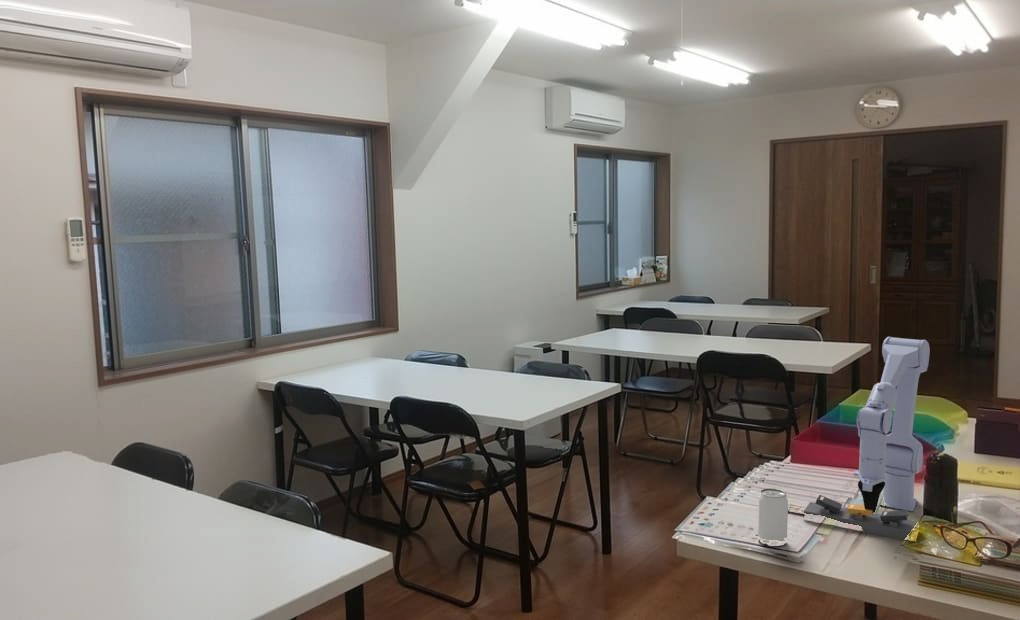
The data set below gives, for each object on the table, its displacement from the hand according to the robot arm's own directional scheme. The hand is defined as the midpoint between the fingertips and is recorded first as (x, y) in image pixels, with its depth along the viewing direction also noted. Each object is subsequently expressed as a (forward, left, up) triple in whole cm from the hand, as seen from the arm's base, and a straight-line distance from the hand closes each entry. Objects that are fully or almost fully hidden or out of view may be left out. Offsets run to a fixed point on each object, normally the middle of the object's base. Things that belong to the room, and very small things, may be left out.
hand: (870, 511), depth 181 cm
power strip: (0, -5, -4) cm, 6 cm away
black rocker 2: (0, +5, -1) cm, 5 cm away
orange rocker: (0, -2, -1) cm, 2 cm away
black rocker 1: (0, -10, -1) cm, 10 cm away
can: (+20, -18, -5) cm, 27 cm away
